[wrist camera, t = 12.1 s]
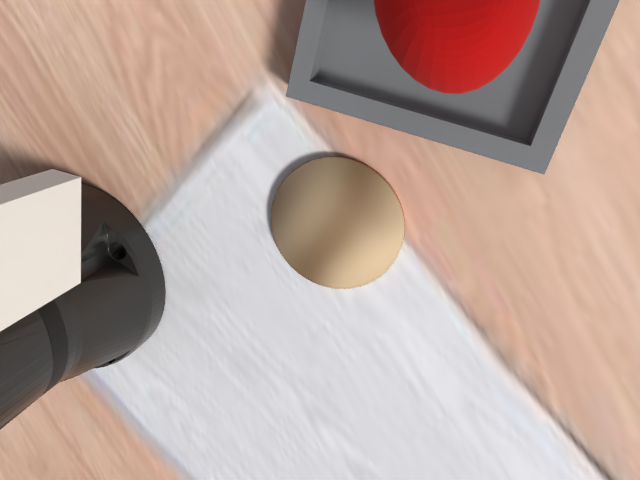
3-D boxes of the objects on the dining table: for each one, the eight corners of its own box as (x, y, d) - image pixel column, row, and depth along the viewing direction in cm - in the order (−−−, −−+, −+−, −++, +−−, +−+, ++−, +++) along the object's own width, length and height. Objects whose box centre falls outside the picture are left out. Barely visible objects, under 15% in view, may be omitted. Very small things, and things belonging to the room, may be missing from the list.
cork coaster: (262, 260, 38) (259, 262, 38) (289, 139, 34) (286, 140, 34) (382, 304, 36) (380, 307, 36) (423, 181, 33) (422, 183, 32)
